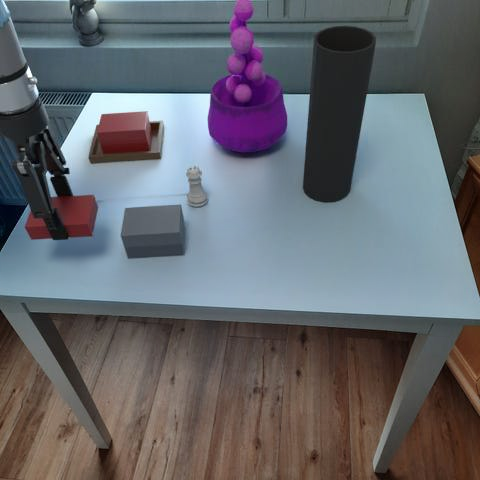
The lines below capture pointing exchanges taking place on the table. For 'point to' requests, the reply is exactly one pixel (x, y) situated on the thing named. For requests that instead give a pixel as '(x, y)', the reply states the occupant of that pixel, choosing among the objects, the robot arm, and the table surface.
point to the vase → (336, 109)
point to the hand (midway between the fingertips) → (65, 221)
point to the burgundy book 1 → (67, 217)
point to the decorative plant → (246, 94)
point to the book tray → (153, 154)
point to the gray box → (153, 231)
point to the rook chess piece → (196, 188)
